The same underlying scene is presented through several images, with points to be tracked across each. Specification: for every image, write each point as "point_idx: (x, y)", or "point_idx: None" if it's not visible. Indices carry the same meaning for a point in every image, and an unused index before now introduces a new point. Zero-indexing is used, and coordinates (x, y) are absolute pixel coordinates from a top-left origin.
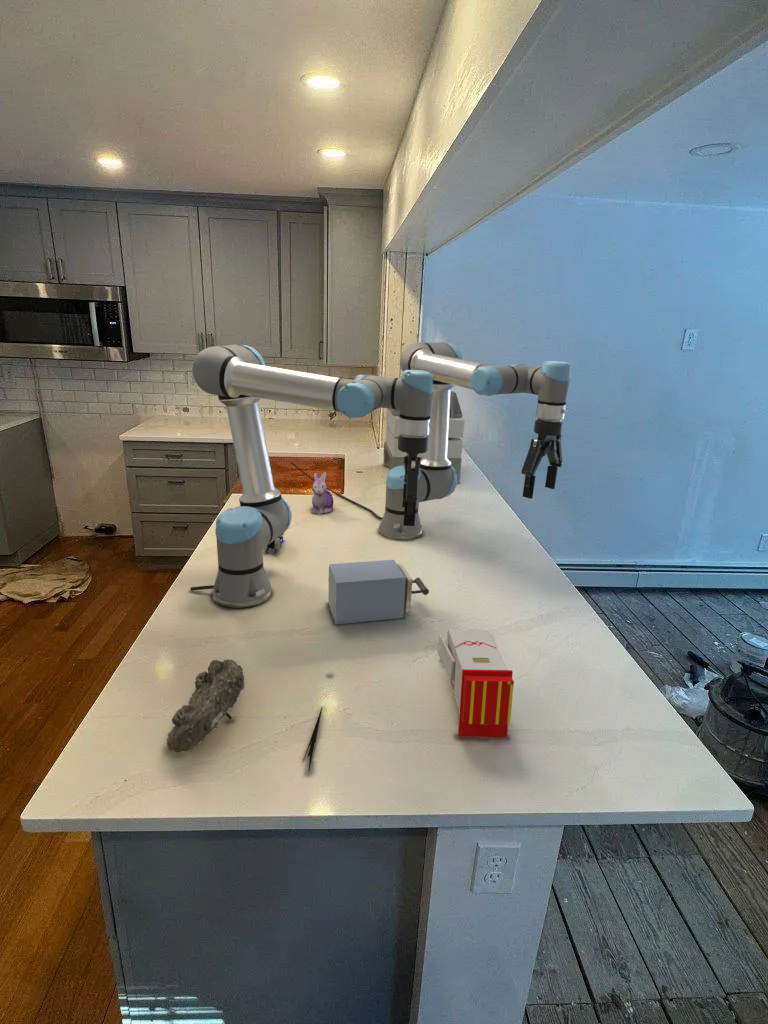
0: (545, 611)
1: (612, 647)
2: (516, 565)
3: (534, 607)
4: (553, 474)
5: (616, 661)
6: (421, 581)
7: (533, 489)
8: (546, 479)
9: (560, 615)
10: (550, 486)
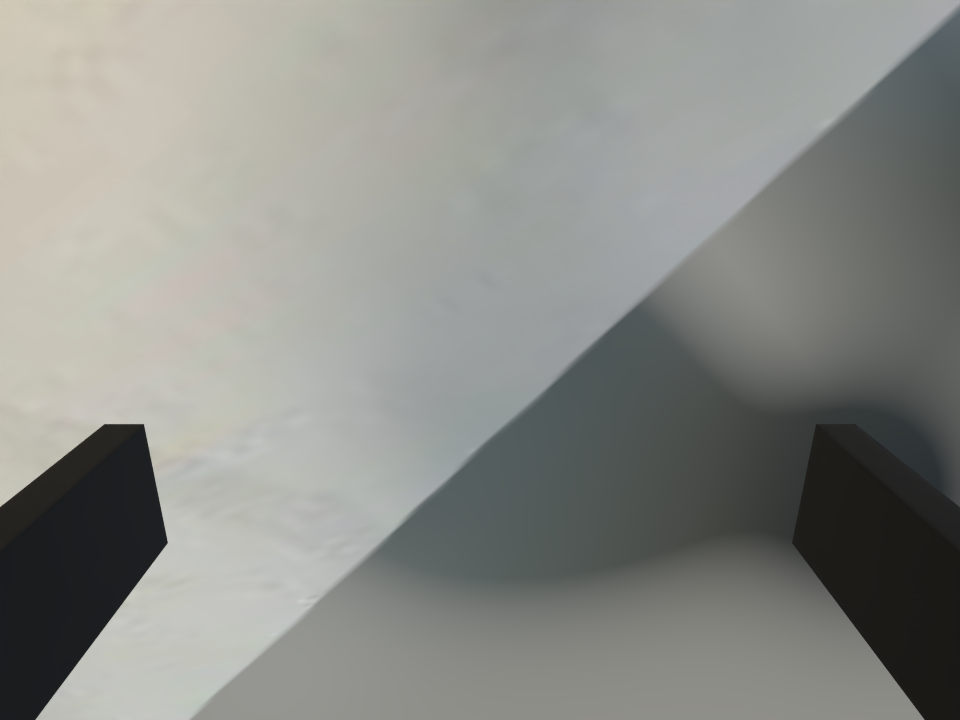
0: (237, 460)
1: (215, 686)
2: (555, 140)
3: (228, 417)
4: (948, 698)
5: (154, 714)
6: None
7: (91, 637)
8: (889, 500)
9: (258, 510)
10: (816, 517)
